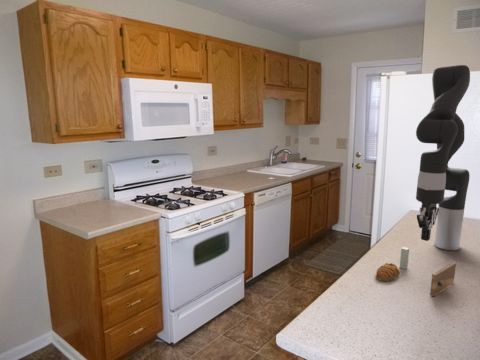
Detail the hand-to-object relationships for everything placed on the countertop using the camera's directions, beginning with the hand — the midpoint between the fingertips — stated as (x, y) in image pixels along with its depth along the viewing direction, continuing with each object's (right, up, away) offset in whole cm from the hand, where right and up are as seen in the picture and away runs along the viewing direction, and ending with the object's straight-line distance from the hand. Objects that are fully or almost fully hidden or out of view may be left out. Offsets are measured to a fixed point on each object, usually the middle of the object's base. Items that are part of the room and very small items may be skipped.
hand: (425, 239), depth 111 cm
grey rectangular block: (+7, -14, +13) cm, 20 cm away
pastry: (-7, -15, +12) cm, 20 cm away
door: (+7, -16, +2) cm, 18 cm away
